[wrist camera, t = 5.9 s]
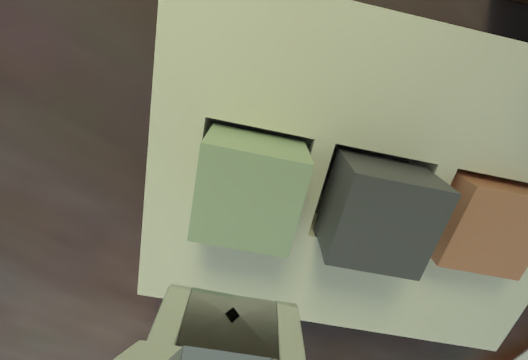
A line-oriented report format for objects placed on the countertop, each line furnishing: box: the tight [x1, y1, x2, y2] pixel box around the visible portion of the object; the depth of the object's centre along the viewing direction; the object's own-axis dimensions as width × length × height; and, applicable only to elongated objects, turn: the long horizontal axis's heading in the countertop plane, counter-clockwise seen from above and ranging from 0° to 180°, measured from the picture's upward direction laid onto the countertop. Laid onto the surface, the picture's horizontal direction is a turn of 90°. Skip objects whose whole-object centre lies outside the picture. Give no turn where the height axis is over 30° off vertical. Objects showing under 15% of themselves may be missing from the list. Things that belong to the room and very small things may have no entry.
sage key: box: [187, 123, 315, 258], centre depth 13 cm, size 4×4×3 cm
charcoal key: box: [314, 148, 462, 281], centre depth 14 cm, size 4×4×3 cm
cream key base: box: [137, 0, 528, 351], centre depth 16 cm, size 15×20×4 cm
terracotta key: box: [431, 169, 528, 281], centre depth 15 cm, size 4×4×3 cm
